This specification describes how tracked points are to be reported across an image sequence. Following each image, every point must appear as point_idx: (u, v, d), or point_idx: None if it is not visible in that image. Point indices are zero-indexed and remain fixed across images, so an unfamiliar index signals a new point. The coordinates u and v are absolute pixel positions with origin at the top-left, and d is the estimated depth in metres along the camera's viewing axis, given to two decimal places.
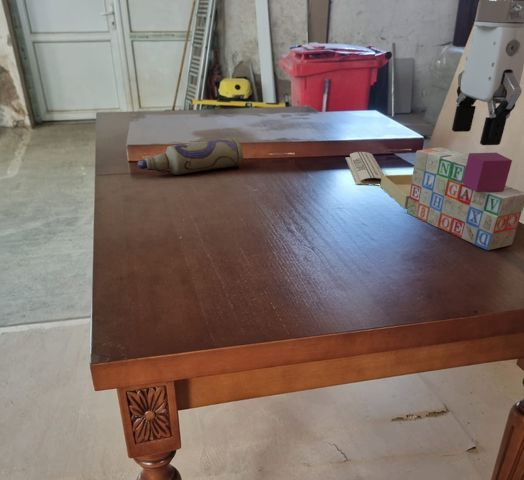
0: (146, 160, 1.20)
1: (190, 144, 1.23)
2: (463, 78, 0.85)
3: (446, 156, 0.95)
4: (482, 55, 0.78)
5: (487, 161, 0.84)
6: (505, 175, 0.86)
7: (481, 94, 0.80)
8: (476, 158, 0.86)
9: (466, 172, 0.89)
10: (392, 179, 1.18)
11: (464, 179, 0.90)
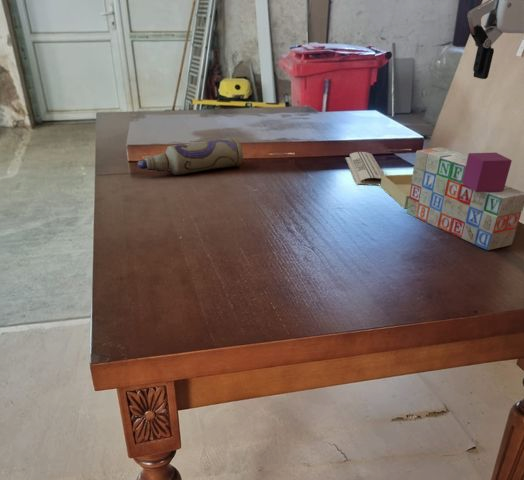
0: (146, 160, 1.20)
1: (190, 144, 1.23)
2: (510, 13, 0.73)
3: (446, 156, 0.95)
4: None
5: (487, 161, 0.84)
6: (505, 175, 0.86)
7: None
8: (476, 158, 0.86)
9: (466, 172, 0.89)
10: (392, 179, 1.18)
11: (464, 179, 0.90)
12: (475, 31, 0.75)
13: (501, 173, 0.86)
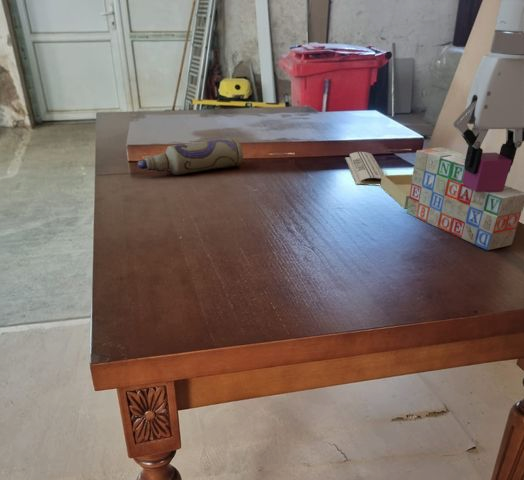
0: (146, 160, 1.20)
1: (190, 144, 1.23)
2: (486, 113, 0.80)
3: (446, 156, 0.95)
4: None
5: (487, 161, 0.84)
6: (505, 175, 0.86)
7: (522, 122, 0.82)
8: None
9: (466, 172, 0.89)
10: (392, 179, 1.18)
11: (464, 179, 0.90)
12: (466, 136, 0.83)
13: (501, 173, 0.86)
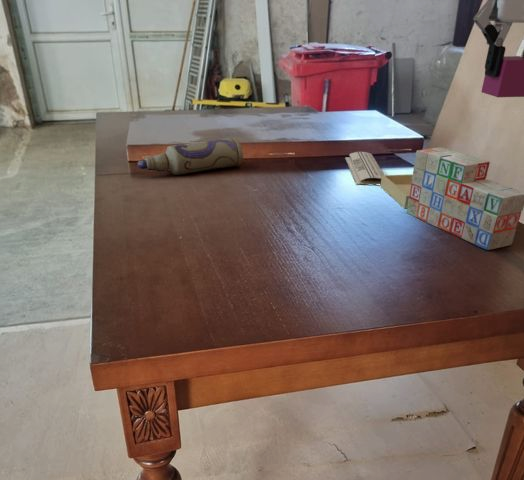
0: (146, 160, 1.20)
1: (190, 144, 1.23)
2: (510, 2, 0.73)
3: (446, 156, 0.95)
4: None
5: (510, 60, 0.77)
6: None
7: None
8: None
9: (486, 78, 0.82)
10: (392, 179, 1.18)
11: (483, 87, 0.83)
12: (487, 31, 0.76)
13: None
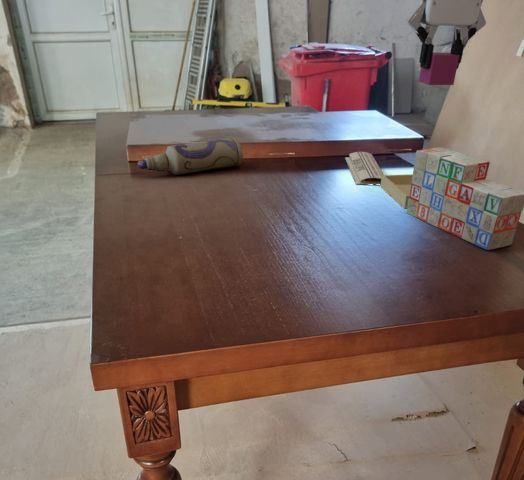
0: (146, 160, 1.20)
1: (190, 144, 1.23)
2: (435, 9, 0.93)
3: (446, 156, 0.95)
4: None
5: (437, 55, 0.97)
6: (454, 69, 0.99)
7: (467, 19, 0.94)
8: None
9: (421, 70, 1.02)
10: (392, 179, 1.18)
11: (420, 77, 1.03)
12: (419, 32, 0.96)
13: (450, 67, 0.98)
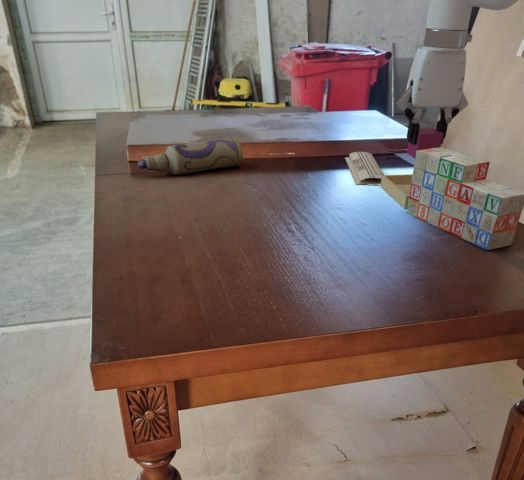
0: (146, 160, 1.20)
1: (190, 144, 1.23)
2: (420, 94, 1.00)
3: (446, 156, 0.95)
4: (449, 73, 0.99)
5: (423, 133, 1.05)
6: (438, 145, 1.06)
7: (450, 102, 1.02)
8: None
9: (409, 144, 1.10)
10: (392, 179, 1.18)
11: (407, 149, 1.10)
12: (405, 113, 1.03)
13: (435, 144, 1.06)
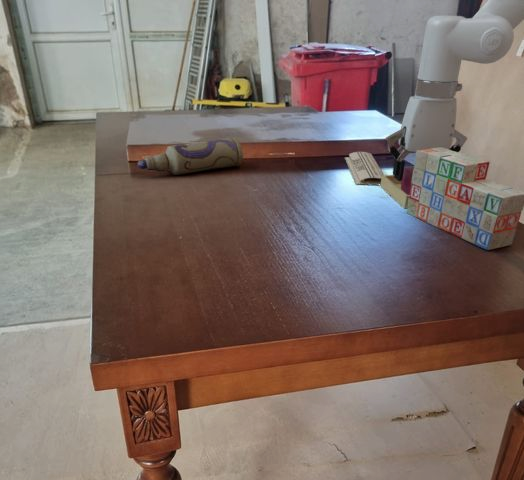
0: (146, 160, 1.20)
1: (190, 144, 1.23)
2: (413, 140, 1.05)
3: (446, 156, 0.95)
4: (440, 120, 1.04)
5: None
6: None
7: None
8: (408, 171, 1.11)
9: (402, 181, 1.14)
10: (392, 179, 1.18)
11: (401, 187, 1.15)
12: (391, 151, 1.07)
13: None
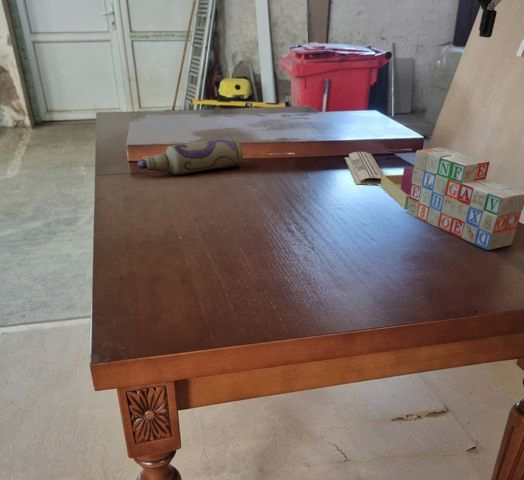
0: (146, 160, 1.20)
1: (190, 144, 1.23)
2: None
3: (446, 156, 0.95)
4: None
5: None
6: None
7: None
8: (408, 171, 1.11)
9: (402, 181, 1.14)
10: (392, 179, 1.18)
11: (401, 187, 1.15)
12: None
13: None
